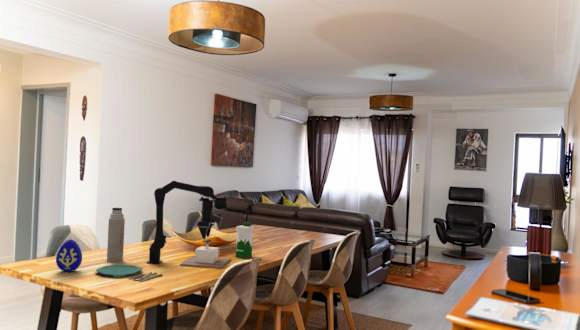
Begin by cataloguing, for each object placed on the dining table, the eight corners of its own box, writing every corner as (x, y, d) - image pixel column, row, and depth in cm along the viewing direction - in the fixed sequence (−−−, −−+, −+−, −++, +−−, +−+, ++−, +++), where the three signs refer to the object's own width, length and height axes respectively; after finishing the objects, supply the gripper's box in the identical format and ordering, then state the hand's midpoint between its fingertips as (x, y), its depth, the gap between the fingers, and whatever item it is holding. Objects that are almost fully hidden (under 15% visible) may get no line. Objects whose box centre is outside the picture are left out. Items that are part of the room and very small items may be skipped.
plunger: (209, 254, 251) (210, 240, 251) (201, 254, 251) (202, 240, 251) (212, 253, 256) (212, 239, 256) (203, 252, 256) (204, 239, 256)
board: (221, 268, 241) (221, 266, 241) (180, 265, 244) (180, 263, 244) (230, 260, 263) (230, 258, 263) (192, 257, 266) (192, 255, 266)
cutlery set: (120, 266, 236) (120, 262, 236) (166, 276, 222) (166, 271, 222) (87, 274, 218) (87, 269, 218) (135, 285, 205) (135, 280, 205)
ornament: (53, 273, 215) (55, 241, 215) (58, 269, 224) (59, 237, 224) (79, 273, 218) (81, 241, 218) (83, 268, 227) (84, 237, 227)
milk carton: (253, 256, 276) (255, 222, 276) (245, 259, 268) (247, 224, 268) (241, 254, 280) (243, 221, 280) (232, 257, 272) (234, 222, 272)
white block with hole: (213, 263, 248) (213, 250, 248) (194, 262, 249) (195, 249, 249) (217, 259, 258) (218, 247, 258) (200, 258, 259) (200, 246, 259)
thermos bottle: (125, 259, 251) (128, 207, 251) (117, 262, 243) (120, 209, 243) (112, 258, 253) (114, 206, 253) (103, 261, 245) (106, 208, 245)
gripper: (218, 211, 245) (217, 241, 245) (225, 208, 264) (223, 236, 264) (197, 210, 245) (196, 240, 246) (205, 207, 264) (204, 235, 264)
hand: (206, 237), depth 255 cm, fingers open, 9 cm apart
